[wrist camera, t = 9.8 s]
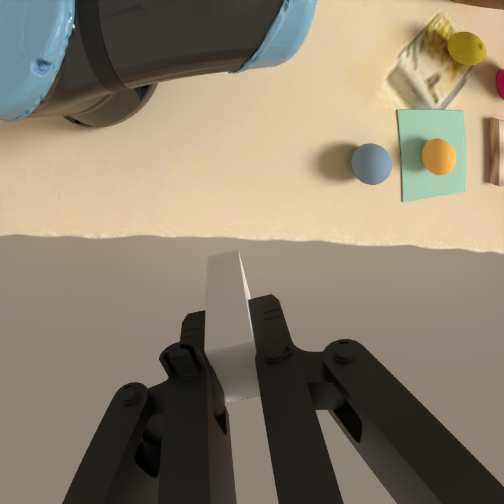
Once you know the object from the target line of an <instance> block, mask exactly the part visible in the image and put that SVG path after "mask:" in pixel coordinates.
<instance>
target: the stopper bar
mask: <svg viewBox="0 0 504 504" xmlns="http://www.w3.org/2000/svg"><path fill="white" fill-rule="evenodd" d="M489 121H490V150H491V160H490V183H492V184H494V185H497V186H504V120H498V119H489Z"/></svg>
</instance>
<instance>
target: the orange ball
mask: <svg viewBox="0 0 504 504" xmlns="http://www.w3.org/2000/svg"><path fill="white" fill-rule="evenodd" d="M422 161H423V164H424V165H425V167H426V168H427V169H428V170H429V171H430V172H431V173H433V174H436V175H445V174H448V173H449V172H450V171H451V170H452V169H453V168H454V166H455V163H456V154H455V151H454V149H453V147H452V146H451V145H450V144H449V143H448V142H447V141H445V140H443V139H439V138H436V139H432V140H429V141H428V142H427V143H426V144H425V145H424V147H423V149H422Z"/></svg>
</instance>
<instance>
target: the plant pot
mask: <svg viewBox="0 0 504 504" xmlns="http://www.w3.org/2000/svg"><path fill="white" fill-rule="evenodd" d="M453 1H455V2H457V3H461V4H466V5H472V6H478V7H485V8H493V9H503V10H504V0H453Z"/></svg>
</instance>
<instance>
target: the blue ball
mask: <svg viewBox="0 0 504 504" xmlns="http://www.w3.org/2000/svg"><path fill="white" fill-rule="evenodd" d="M351 167H352V170H353V173H354V174H355V176H356V177H357V178H358V179H359V180H360V181H362V182H363V183H366V184H370V185H376V184H379V183H382V182H383V181H385V180H386V179H387V178H388V176H389V175H390V172H391V168H392V162H391V158H390V156H389V154H388V152H387V151H386V150H385V149H384V148H383V147H381V146H379V145H377V144H371V143H370V144H364V145H362V146H360V147H359V148H357V149H356V151H355V152H354V154H353V156H352V160H351Z"/></svg>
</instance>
